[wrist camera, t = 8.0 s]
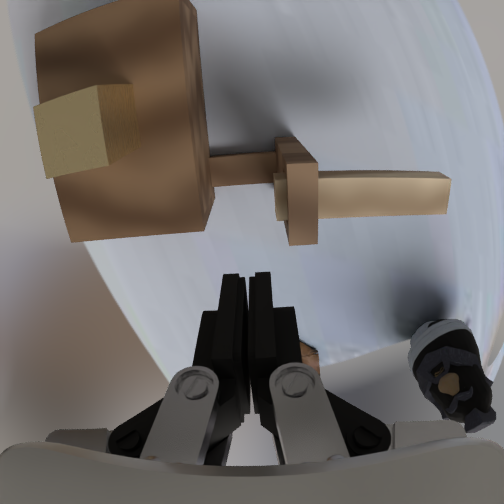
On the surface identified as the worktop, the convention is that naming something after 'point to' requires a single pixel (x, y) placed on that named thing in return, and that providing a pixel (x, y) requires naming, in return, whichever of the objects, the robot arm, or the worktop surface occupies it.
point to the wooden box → (251, 156)
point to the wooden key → (372, 193)
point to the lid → (119, 121)
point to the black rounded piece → (452, 373)
